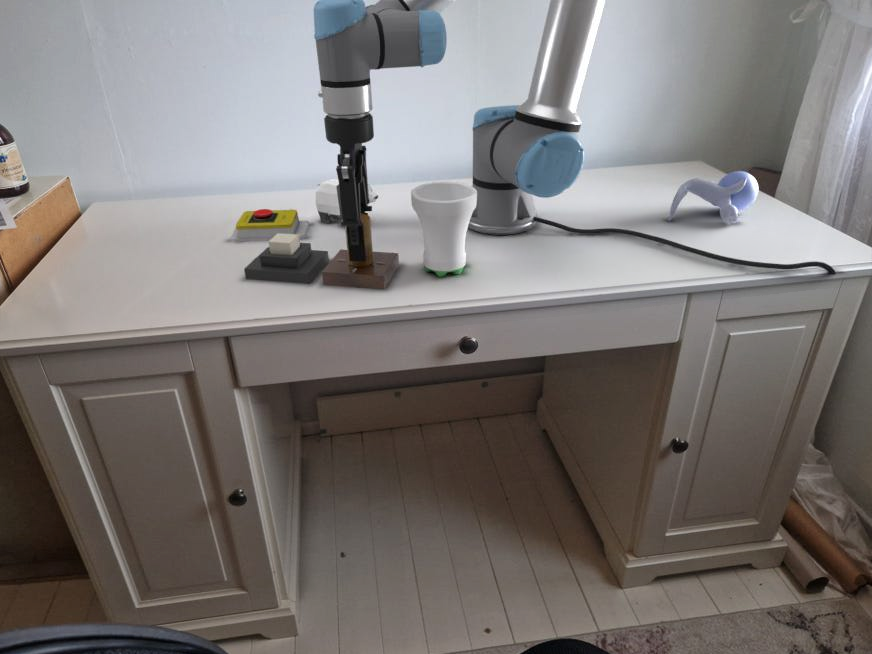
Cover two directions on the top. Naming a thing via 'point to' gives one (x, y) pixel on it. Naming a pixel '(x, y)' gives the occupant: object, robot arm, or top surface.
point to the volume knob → (368, 243)
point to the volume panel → (361, 271)
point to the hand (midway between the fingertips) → (360, 254)
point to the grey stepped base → (288, 265)
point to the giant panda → (333, 200)
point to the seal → (721, 193)
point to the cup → (444, 223)
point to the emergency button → (268, 225)
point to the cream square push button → (284, 244)
